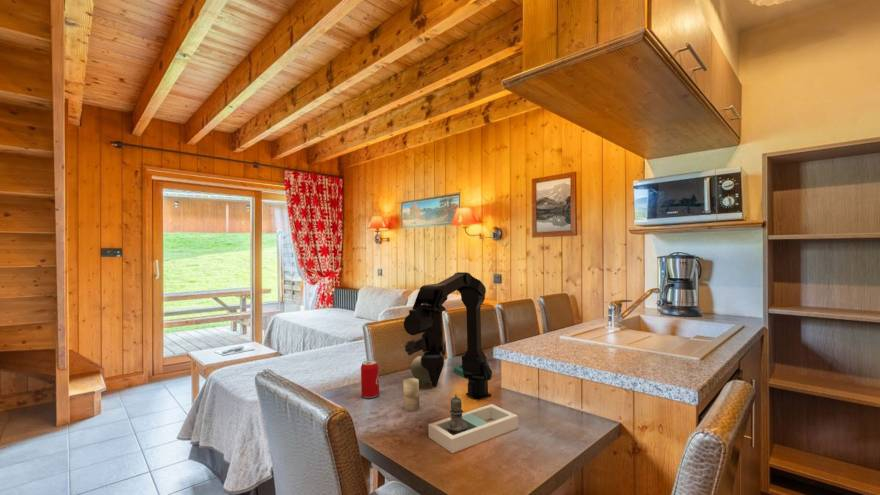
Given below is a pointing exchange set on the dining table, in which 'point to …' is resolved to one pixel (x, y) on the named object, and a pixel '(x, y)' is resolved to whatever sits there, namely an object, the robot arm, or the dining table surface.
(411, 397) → the wooden peg
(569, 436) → the dining table surface
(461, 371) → the bracket
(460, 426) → the salt shaker
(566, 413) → the dining table surface
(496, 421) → the housing
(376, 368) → the beverage can
